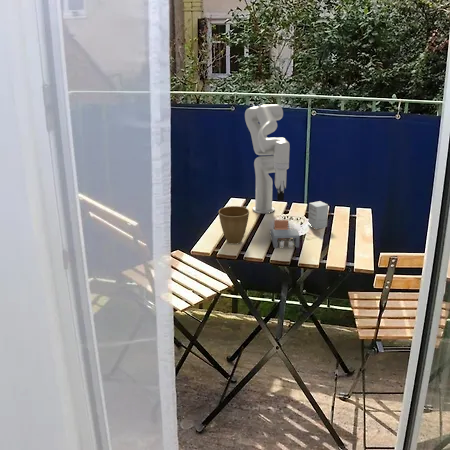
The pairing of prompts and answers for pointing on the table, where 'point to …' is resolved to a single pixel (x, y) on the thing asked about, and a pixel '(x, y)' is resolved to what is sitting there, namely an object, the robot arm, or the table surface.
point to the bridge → (285, 234)
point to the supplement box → (318, 214)
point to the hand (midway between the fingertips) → (280, 199)
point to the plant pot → (234, 223)
